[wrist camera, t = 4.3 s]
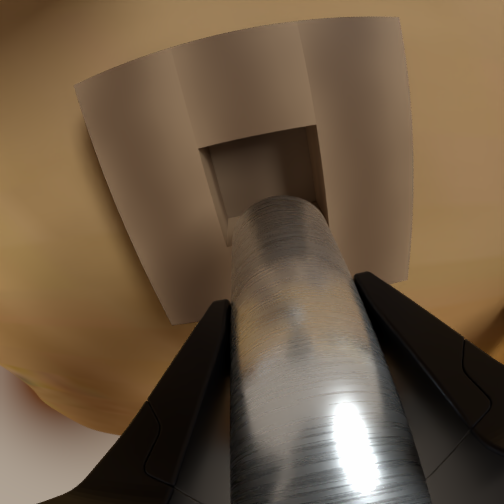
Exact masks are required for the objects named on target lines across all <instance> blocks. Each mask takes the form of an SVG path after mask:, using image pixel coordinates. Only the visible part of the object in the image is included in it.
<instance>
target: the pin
mask: <svg viewBox="0 0 504 504" xmlns="http://www.w3.org/2000/svg"><path fill="white" fill-rule="evenodd" d="M230 502H231V504H432V502H431V498H430V494H429V490H428V487H427V483H426V479H425V476H424V472H423V469H422V465H421V462H420V458H419V455H418V452H417V449H416V445H415V442H414V439H413V436H412V433H411V430H410V426H409V423H408V420H407V417H406V414H405V411H404V409H403V406H402V403H401V400H400V397H399V394H398V391H397V389H396V386H395V383H394V380H393V378H392V375H391V372H390V369H389V367H388V364H387V361H386V359H385V356H384V354H383V351H382V348H381V346H380V343H379V341H378V338H377V336H376V333H375V331H374V328H373V326H372V323H371V321H370V318H369V316H368V314H367V311H366V309H365V306H364V304H363V302H362V299H361V297H360V295H359V292H358V290H357V288H356V285H355V283H354V281H353V279H352V276H351V274H350V272H349V270H348V267H347V265H346V263H345V261H344V259H343V256H342V254H341V252H340V250H339V248H338V246H337V243H336V241H335V239H334V237H333V235H332V233H331V231H330V229H329V227H328V224H327V222H326V220H325V218H324V216H323V215H322V213H321V212H320V211H319V210H318V209H317V208H316V207H315V206H314V205H313V204H311V203H310V202H308V201H306V200H304V199H301V198H299V197H294V196H287V195H279V196H272V197H268V198H265V199H262V200H260V201H258V202H256V203H254V204H253V205H251V206H250V207H249V208H247V209H246V210H245V211H244V212H243V214H242V215H241V216H240V217H239V219H238V221H237V222H236V225H235V227H234V230H233V236H232V270H231V326H230Z"/></svg>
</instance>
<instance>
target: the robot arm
mask: <svg viewBox="0 0 504 504" xmlns="http://www.w3.org/2000/svg"><path fill="white" fill-rule="evenodd" d="M353 281H354V283H355V285H356V288H357V290H358V292H359V295H360V297H361V299H362V302H363V304H364V306H365V309H366V311H367V314H368V316H369V318H370V321H371V323H372V326H373V328H374V331H375V333H376V336H377V338H378V341H379V343H380V346H381V348H382V351H383V354H384V356H385V359H386V361H387V364H388V367H389V369H390V372H391V375H392V378H393V380H394V383H395V386H396V389H397V391H398V394H399V397H400V400H401V403H402V406H403V409H404V411H405V414H406V417H407V420H408V423H409V426H410V430H411V433H412V436H413V439H414V442H415V445H416V449H417V452H418V455H419V458H420V462H421V465H422V469H423V472H424V476H425V479H426V483H427V487H428V490H429V494H430V498H431V502H432V504H504V365H503V364H501V363H500V362H498V361H497V360H495V359H494V358H492V357H491V356H489V355H488V354H486V353H485V352H484V351H482V350H481V349H479V348H478V347H477V346H475V345H474V344H472V343H471V342H470V341H468V340H467V339H465V340H464V337H463V336H461V335H460V334H459V333H457V332H456V331H455V330H453V329H452V328H450V327H449V326H448V325H446V324H445V323H443V322H442V321H441V320H439V319H438V318H436V317H435V316H434V315H432V314H431V313H429V312H428V311H427V310H425V309H424V308H422V307H421V306H419V305H418V304H417V303H415V302H414V301H412V300H411V299H409V298H408V297H407V296H405V295H404V294H402V293H401V292H399V291H398V290H396V289H395V288H393V287H392V286H391V285H389V284H388V283H386V282H385V281H383V280H382V279H380V278H379V277H377V276H376V275H374V274H373V273H371V272H369V271H365V272H361V273H356V274H355V275H354V276H353ZM230 326H231V303H230V301H229V300H228V299H222V300H217V301H213V302H212V303H211V305H210V306H209V308H208V309H207V311H206V312H205V314H204V315H203V317H202V318H201V320H200V321H199V322H198V324H197V325H196V327H195V328H194V330H193V331H192V333H191V334H190V336H189V337H188V339H187V340H186V342H185V343H184V345H183V346H182V348H181V349H180V351H179V352H178V354H177V355H176V357H175V358H174V360H173V361H172V363H171V364H170V366H169V367H168V369H167V370H166V372H165V373H164V375H163V376H162V378H161V379H160V381H159V382H158V384H157V385H156V387H155V388H154V390H153V391H152V393H151V394H150V396H149V397H148V401H149V402H148V401H145V403H144V404H143V406H142V407H141V409H140V410H139V412H138V413H137V415H136V416H135V418H134V419H133V420H132V422H131V423H130V425H129V426H128V427H127V429H126V430H125V431H124V433H123V434H122V435H121V436H120V438H119V439H118V440H117V441H116V443H115V444H114V445H113V446H112V447H111V449H110V450H109V451H108V452H107V453H106V455H105V456H104V457H103V458H102V459H101V461H100V462H99V463H98V464H97V465H96V466H95V468H94V469H93V470H92V471H91V472H90V473H89V475H88V476H87V477H86V478H85V479H84V480H83V481H82V482H81V483H80V484H79V485H78V486H77V487H75V488H74V489H72V490H71V491H69V492H67V493H65V494H63V495H60V496H58V497H55V498H52V499H49V500H47V501H44V502H41V503H38V504H231V502H230Z"/></svg>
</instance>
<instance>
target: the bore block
mask: <svg viewBox="0 0 504 504" xmlns="http://www.w3.org/2000/svg"><path fill="white" fill-rule="evenodd" d="M74 88H75V91H76V95H77V98H78V101H79V104H80V108H81V111H82V114H83V117H84V120H85V123H86V126H87V129H88V132H89V135H90V138H91V141H92V144H93V146H94V149H95V152H96V155H97V158H98V160H99V163H100V166H101V168H102V171H103V174H104V176H105V179H106V182H107V184H108V187H109V189H110V192H111V194H112V197H113V199H114V202H115V204H116V207H117V209H118V211H119V214H120V216H121V218H122V221H123V223H124V226H125V228H126V230H127V232H128V235H129V237H130V239H131V242H132V244H133V246H134V248H135V250H136V253H137V255H138V257H139V259H140V261H141V263H142V266H143V268H144V270H145V272H146V274H147V276H148V278H149V280H150V282H151V284H152V287H153V289H154V291H155V293H156V295H157V297H158V299H159V301H160V303H161V305H162V307H163V309H164V310H165V312H166V314H167V316H168V318H169V320H170V322H171V324H172V325H178V324H185V323H192V322H199V321H200V320H201V318H202V317H203V315H204V314H205V312H206V311H207V309H208V308H209V306H210V305H211V303H212V302H213V301H217V300H222V299H228V300H229V301H230V303H231V270H232V236H233V230H234V227H235V225H236V222H237V221H238V219H239V217H240V216H241V215H242V214H243V212H244V211H245V210H246V209H247V208H249V207H250V206H251V205H253V204H254V203H256V202H258V201H260V200H262V199H265V198H268V197H272V196H279V195H287V196H294V197H299V198H301V199H304V200H306V201H308V202H310V203H311V204H313V205H314V206H315V207H316V208H317V209H318V210H319V211H320V212H321V213H322V215H323V216H324V218H325V220H326V222H327V224H328V227H329V229H330V231H331V233H332V235H333V237H334V239H335V241H336V243H337V246H338V248H339V250H340V252H341V254H342V256H343V259H344V261H345V263H346V265H347V267H348V270H349V272H350V274H351V276H352V279H353V276H354V275H355V274H356V273H361V272H365V271H369V272H371V273H373V274H374V275H376V276H377V277H379V278H380V279H382V280H383V281H385V282H386V283H388V284H392V283H397V282H401V281H405V280H408V270H409V260H410V248H411V235H412V216H413V133H412V115H411V102H410V90H409V81H408V72H407V64H406V56H405V49H404V43H403V37H402V31H401V25H400V20H399V17H340V18H324V19H312V20H302V21H293V22H285V23H278V24H271V25H265V26H259V27H253V28H248V29H242V30H237V31H233V32H228V33H223V34H219V35H215V36H211V37H207V38H203V39H199V40H195V41H191V42H188V43H184V44H181V45H177V46H174V47H171V48H167V49H164V50H161V51H158V52H155V53H152V54H149V55H146V56H143V57H140V58H138V59H135V60H132V61H130V62H127V63H124V64H122V65H119V66H117V67H114V68H112V69H109V70H107V71H104V72H102V73H100V74H97V75H95V76H93V77H91V78H88V79H86V80H84V81H82V82H80V83H78V84H75V85H74Z"/></svg>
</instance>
